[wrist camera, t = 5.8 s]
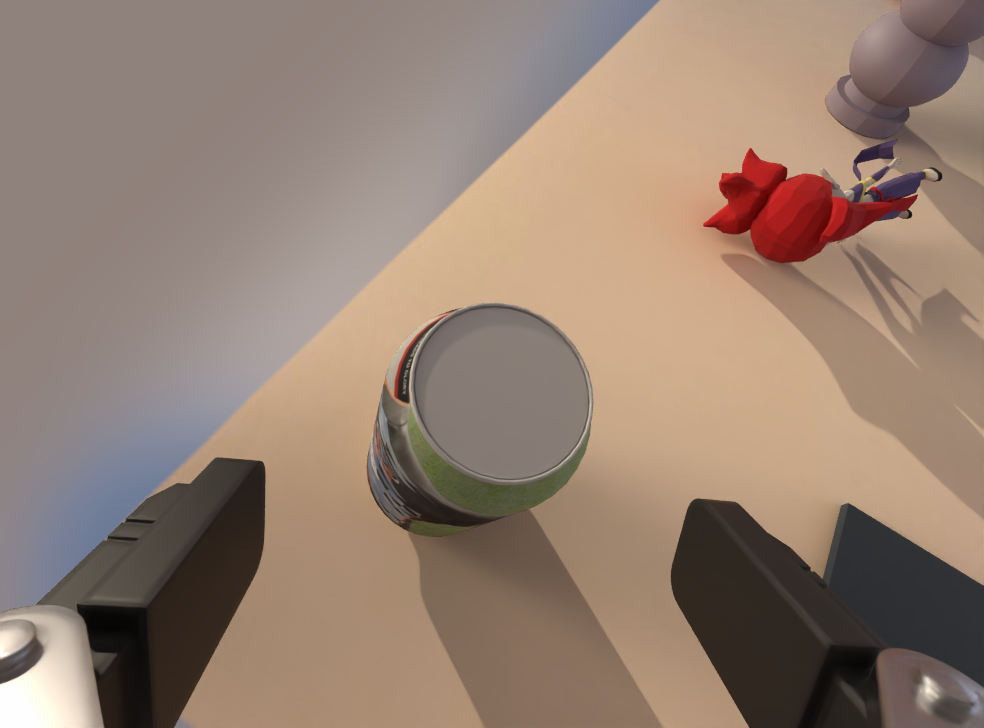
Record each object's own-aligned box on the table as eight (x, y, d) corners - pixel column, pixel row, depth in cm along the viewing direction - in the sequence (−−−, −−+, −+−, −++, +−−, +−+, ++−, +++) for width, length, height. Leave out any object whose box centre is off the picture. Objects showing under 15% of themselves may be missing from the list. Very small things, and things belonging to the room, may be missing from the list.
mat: (1080, 970, 19) (1097, 978, 18) (778, 757, 20) (786, 759, 20) (1077, 650, 24) (1089, 650, 24) (840, 504, 26) (848, 502, 26)
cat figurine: (845, 72, 47) (971, -91, 37) (920, 122, 45) (1077, -36, 34) (798, 101, 43) (923, -71, 33) (877, 157, 41) (1038, -7, 31)
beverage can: (424, 389, 26) (441, 213, 15) (548, 476, 24) (658, 352, 14) (336, 490, 23) (280, 359, 12) (471, 595, 21) (538, 550, 11)
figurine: (925, 260, 35) (752, 307, 31) (832, 193, 40) (671, 226, 36) (1002, 172, 30) (809, 214, 26) (885, 109, 35) (706, 135, 31)
